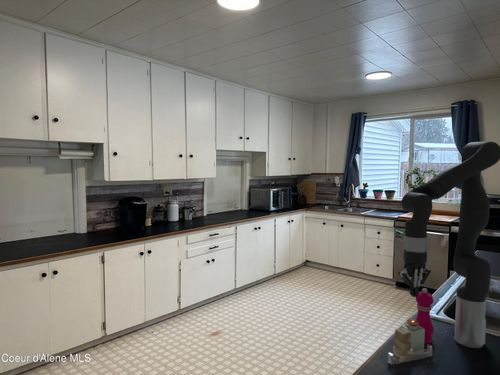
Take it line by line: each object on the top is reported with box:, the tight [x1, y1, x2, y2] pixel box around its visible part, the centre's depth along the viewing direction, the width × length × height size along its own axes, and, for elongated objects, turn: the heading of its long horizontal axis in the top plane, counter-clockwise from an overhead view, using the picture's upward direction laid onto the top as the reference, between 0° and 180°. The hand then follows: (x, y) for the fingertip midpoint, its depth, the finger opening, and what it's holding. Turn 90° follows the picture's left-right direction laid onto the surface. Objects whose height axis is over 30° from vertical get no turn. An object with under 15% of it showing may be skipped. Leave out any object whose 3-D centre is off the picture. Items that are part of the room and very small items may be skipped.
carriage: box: [392, 327, 413, 362], centre depth 115 cm, size 5×4×10 cm
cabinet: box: [400, 323, 425, 352], centre depth 124 cm, size 6×5×8 cm
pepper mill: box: [415, 287, 435, 345], centre depth 130 cm, size 7×7×20 cm
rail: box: [387, 343, 433, 366], centre depth 117 cm, size 18×2×4 cm, turn 109°
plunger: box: [406, 318, 419, 331], centre depth 123 cm, size 4×4×6 cm
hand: (414, 296), depth 123 cm, fingers closed
